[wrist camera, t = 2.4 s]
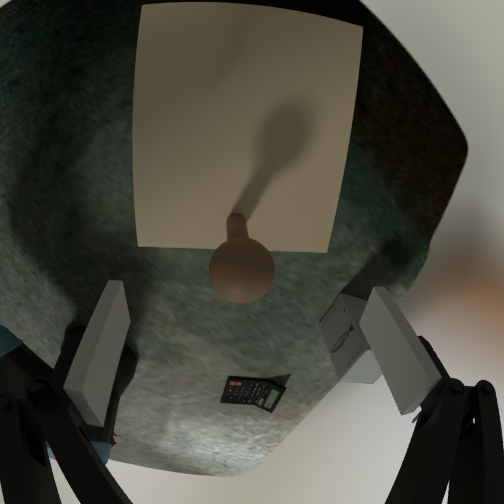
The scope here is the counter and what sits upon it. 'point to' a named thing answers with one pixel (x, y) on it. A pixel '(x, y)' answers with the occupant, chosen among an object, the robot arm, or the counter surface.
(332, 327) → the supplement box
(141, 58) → the flap
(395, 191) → the counter surface
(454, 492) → the robot arm
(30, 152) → the counter surface
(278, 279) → the counter surface
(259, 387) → the calculator
